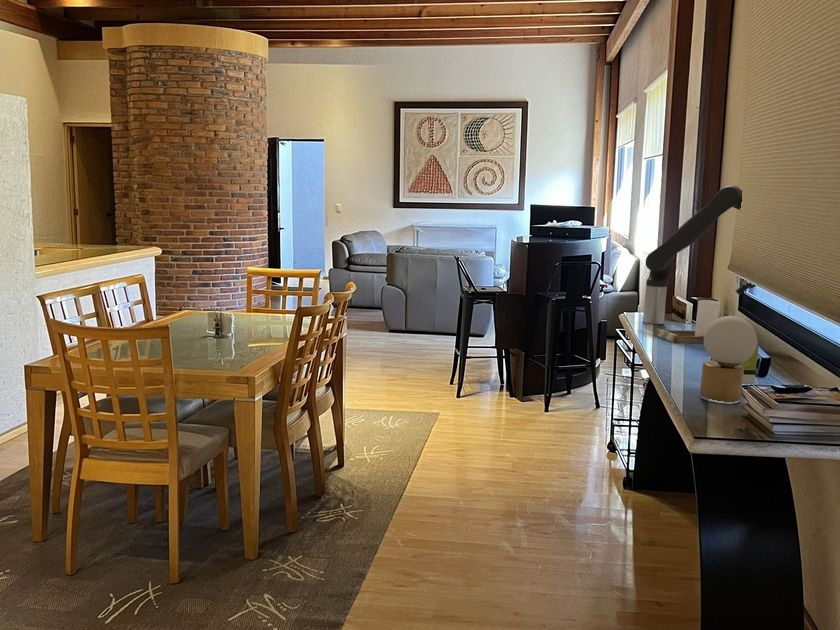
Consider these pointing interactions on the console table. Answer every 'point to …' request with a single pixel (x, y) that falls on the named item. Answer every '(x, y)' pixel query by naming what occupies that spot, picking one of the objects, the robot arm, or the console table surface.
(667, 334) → the bay
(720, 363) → the lamp
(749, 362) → the tea box
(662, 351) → the console table surface
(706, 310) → the cup
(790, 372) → the console table surface
